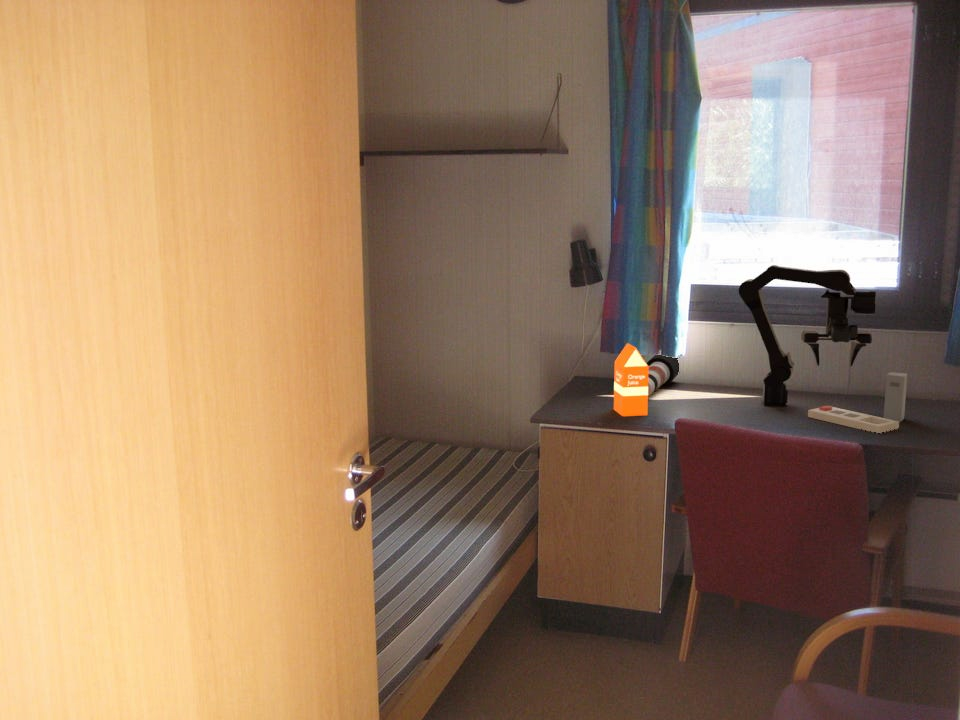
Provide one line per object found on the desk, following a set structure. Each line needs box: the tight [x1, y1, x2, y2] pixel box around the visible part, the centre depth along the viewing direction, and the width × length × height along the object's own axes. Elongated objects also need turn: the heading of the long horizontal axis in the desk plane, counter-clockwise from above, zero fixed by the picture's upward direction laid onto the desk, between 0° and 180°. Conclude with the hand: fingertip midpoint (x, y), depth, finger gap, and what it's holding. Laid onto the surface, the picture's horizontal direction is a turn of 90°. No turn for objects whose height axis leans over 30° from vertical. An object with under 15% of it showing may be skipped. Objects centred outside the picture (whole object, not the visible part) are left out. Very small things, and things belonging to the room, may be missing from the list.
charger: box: [883, 371, 908, 423], centre depth 260 cm, size 5×5×13 cm
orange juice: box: [613, 342, 649, 417], centre depth 270 cm, size 8×9×20 cm
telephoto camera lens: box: [646, 354, 680, 398], centre depth 299 cm, size 10×34×10 cm, turn 153°
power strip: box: [807, 405, 900, 434], centre depth 257 cm, size 22×9×3 cm, turn 33°
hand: (834, 365), depth 271 cm, fingers open, 9 cm apart
